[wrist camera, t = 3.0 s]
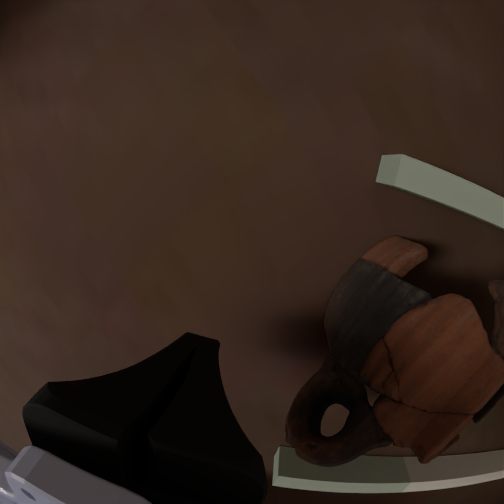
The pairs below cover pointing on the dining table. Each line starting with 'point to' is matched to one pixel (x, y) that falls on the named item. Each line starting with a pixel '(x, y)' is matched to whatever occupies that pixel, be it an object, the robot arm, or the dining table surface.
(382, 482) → the open rectangular rail frame
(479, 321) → the brown piece
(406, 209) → the dining table surface
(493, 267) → the dining table surface
